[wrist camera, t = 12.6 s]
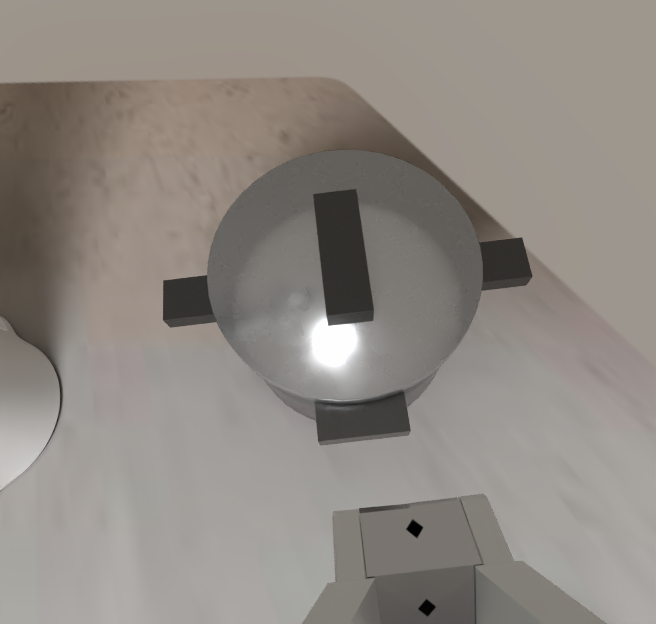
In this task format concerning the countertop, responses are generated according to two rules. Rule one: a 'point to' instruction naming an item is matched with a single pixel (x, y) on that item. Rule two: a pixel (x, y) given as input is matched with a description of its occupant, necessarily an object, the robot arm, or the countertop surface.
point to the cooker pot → (353, 418)
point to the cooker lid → (345, 276)
